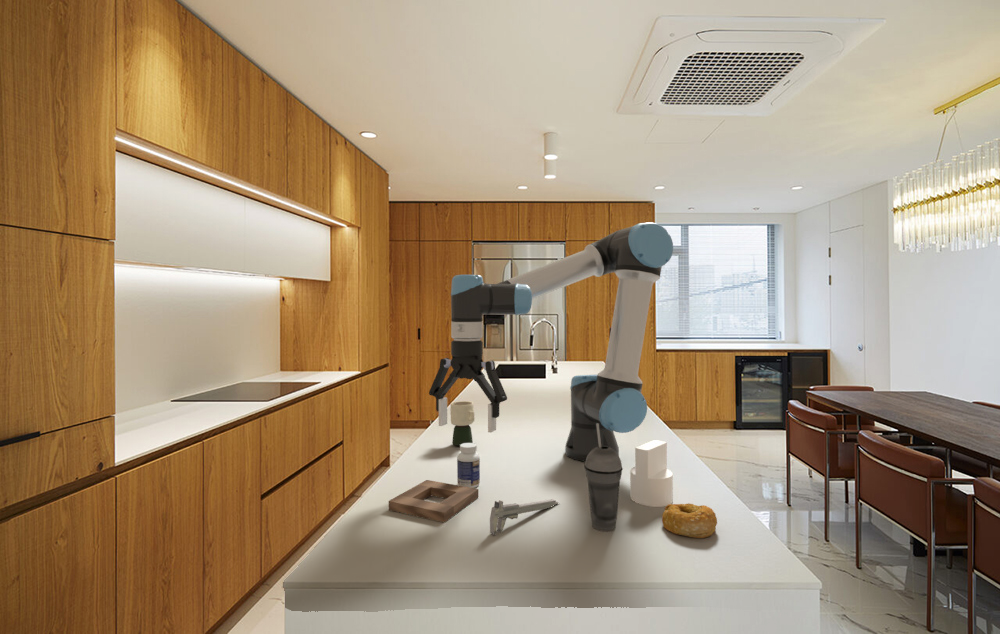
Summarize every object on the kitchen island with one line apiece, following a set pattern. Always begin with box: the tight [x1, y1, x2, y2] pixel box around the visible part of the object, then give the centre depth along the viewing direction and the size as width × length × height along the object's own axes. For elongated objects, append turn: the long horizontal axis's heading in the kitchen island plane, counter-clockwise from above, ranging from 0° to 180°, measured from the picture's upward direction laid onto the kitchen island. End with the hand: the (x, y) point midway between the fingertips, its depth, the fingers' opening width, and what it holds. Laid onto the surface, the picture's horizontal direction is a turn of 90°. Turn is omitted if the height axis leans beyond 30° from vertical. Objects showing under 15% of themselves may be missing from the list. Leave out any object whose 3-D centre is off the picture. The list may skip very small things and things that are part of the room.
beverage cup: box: [584, 423, 624, 532], centre depth 97 cm, size 7×7×20 cm
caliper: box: [489, 498, 559, 536], centre depth 101 cm, size 20×1×6 cm, turn 137°
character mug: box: [449, 400, 475, 446], centre depth 154 cm, size 11×7×13 cm, turn 44°
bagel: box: [661, 503, 718, 539], centre depth 96 cm, size 10×11×5 cm
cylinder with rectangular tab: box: [629, 439, 674, 508], centre depth 110 cm, size 9×9×12 cm
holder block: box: [388, 479, 479, 523], centre depth 109 cm, size 14×14×2 cm
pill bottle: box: [456, 442, 481, 489], centre depth 120 cm, size 5×5×10 cm
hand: (466, 428), depth 119 cm, fingers open, 13 cm apart
